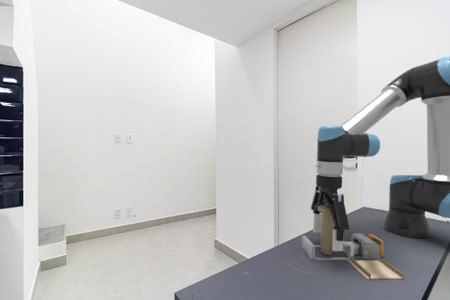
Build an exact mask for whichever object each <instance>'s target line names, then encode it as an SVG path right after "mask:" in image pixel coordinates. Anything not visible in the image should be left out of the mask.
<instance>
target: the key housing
mask: <svg viewBox="0 0 450 300" xmlns="http://www.w3.org/2000/svg"><path fill="white" fill-rule="evenodd" d="M350 242H361V243H363V244H362V245H361V254H360V257H361V258H362V259H364V260H365V259H366V260H367V259H368V260H371V259H373V260H374V259H375V260H378V257H380V245H378V244H376V243H375V242H374V241H372V240H371V239H369V238H368V236H365V234H363V233H352V236H350Z"/></svg>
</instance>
